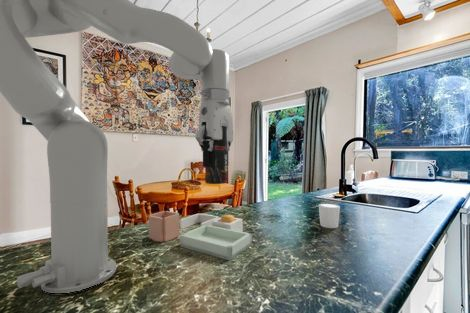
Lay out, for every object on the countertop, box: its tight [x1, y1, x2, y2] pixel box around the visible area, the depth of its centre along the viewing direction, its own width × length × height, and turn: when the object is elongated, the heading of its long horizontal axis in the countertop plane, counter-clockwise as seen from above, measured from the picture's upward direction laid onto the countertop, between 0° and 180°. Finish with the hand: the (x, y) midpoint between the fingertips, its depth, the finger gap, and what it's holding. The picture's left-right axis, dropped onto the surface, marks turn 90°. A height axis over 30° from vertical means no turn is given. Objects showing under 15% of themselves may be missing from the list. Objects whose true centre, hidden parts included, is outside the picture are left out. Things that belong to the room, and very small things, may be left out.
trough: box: [179, 225, 253, 261], centre depth 62 cm, size 11×16×3 cm
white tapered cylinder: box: [318, 203, 341, 229], centre depth 79 cm, size 7×7×7 cm
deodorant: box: [204, 126, 228, 185], centre depth 62 cm, size 6×6×15 cm
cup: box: [148, 210, 180, 243], centre depth 69 cm, size 7×7×7 cm
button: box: [220, 214, 235, 223], centre depth 72 cm, size 4×4×4 cm
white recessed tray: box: [179, 212, 244, 232], centre depth 76 cm, size 10×19×4 cm, turn 58°
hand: (216, 165), depth 62 cm, fingers closed on deodorant, 5 cm apart
